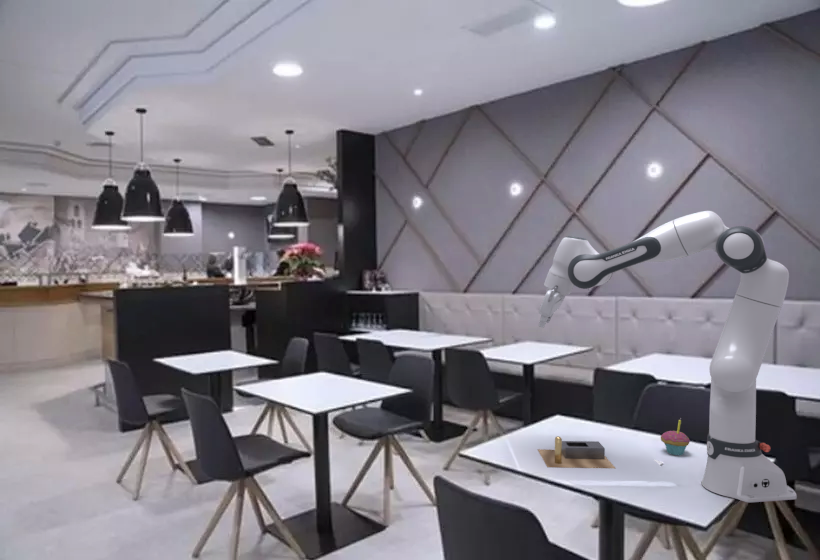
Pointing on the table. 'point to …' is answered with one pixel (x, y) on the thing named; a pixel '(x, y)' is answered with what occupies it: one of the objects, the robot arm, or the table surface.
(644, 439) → the table surface
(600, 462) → the oak board
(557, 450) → the post
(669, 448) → the cupcake
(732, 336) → the robot arm
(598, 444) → the steel link
